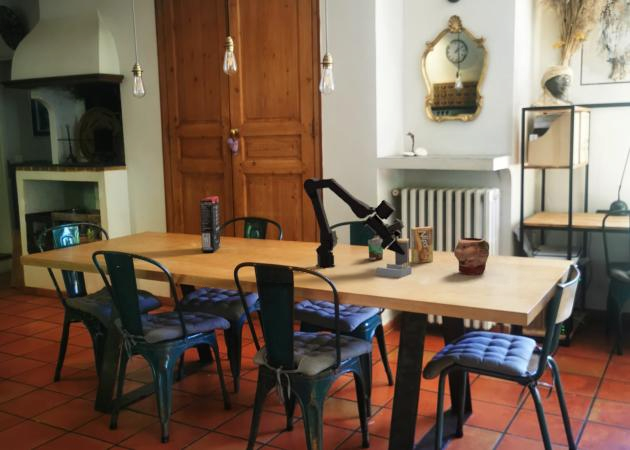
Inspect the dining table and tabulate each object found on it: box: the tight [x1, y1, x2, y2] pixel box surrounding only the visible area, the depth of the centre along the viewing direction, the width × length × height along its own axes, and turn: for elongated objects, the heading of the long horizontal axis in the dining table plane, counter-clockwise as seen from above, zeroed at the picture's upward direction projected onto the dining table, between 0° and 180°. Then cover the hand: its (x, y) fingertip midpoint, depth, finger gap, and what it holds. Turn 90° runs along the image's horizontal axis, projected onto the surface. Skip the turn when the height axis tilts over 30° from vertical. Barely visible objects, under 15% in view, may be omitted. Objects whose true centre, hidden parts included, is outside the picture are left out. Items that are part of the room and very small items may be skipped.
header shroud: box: [376, 262, 413, 279], centre depth 270 cm, size 11×9×5 cm
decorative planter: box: [453, 237, 490, 276], centre depth 268 cm, size 20×12×14 cm, turn 134°
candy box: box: [410, 226, 434, 264], centre depth 292 cm, size 9×4×15 cm, turn 104°
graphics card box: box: [199, 195, 221, 253], centre depth 339 cm, size 17×7×27 cm, turn 178°
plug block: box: [394, 238, 410, 266], centre depth 280 cm, size 5×5×12 cm
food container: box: [367, 235, 384, 262], centre depth 301 cm, size 12×6×10 cm, turn 161°
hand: (405, 253), depth 279 cm, fingers closed on plug block, 5 cm apart
